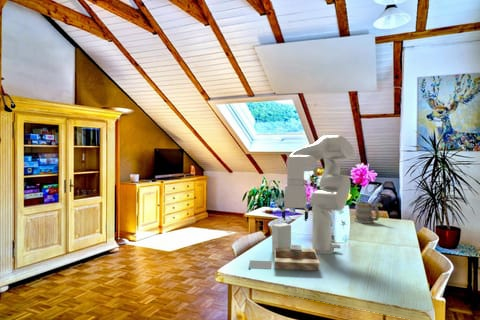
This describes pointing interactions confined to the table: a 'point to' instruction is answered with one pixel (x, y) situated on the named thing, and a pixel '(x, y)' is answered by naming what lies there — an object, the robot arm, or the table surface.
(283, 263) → the wooden tray
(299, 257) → the block
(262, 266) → the coaster
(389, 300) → the table surface
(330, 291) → the table surface
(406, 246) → the table surface
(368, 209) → the tankard
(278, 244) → the skincare box
